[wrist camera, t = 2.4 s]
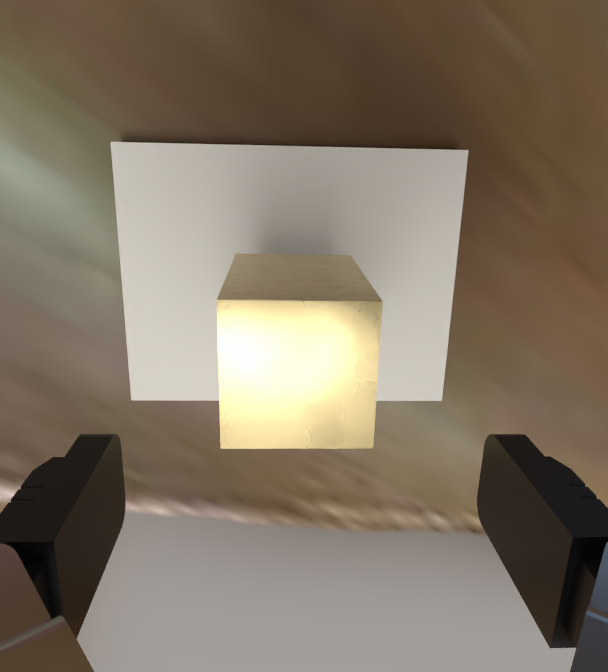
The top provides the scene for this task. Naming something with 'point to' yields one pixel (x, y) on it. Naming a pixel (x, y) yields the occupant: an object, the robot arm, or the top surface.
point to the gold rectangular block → (297, 352)
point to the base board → (283, 248)
